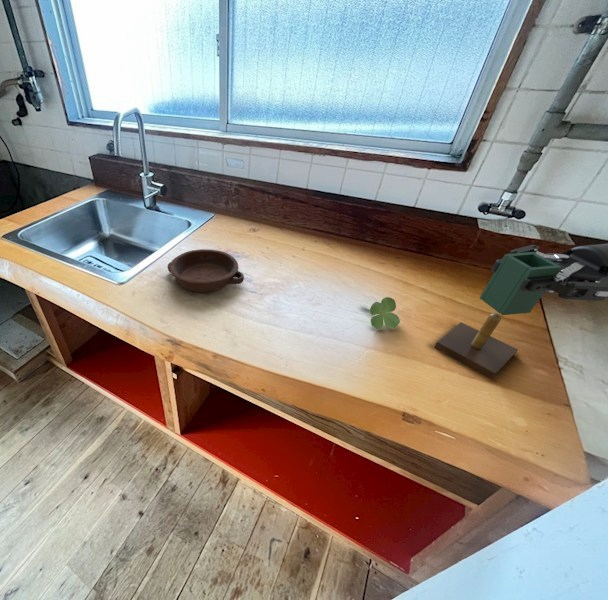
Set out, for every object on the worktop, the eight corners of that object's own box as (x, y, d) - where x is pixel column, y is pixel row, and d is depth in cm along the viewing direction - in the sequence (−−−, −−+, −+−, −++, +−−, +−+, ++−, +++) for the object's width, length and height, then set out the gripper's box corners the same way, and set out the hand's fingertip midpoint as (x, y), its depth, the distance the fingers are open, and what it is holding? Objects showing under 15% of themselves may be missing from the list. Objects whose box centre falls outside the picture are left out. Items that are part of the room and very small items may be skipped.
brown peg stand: (514, 354, 62) (542, 317, 57) (491, 378, 58) (519, 341, 52) (457, 327, 69) (478, 291, 63) (433, 347, 65) (453, 310, 59)
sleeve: (505, 295, 58) (533, 251, 53) (530, 312, 54) (563, 267, 49) (479, 298, 58) (504, 254, 53) (502, 315, 54) (532, 270, 49)
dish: (233, 305, 78) (234, 289, 75) (153, 290, 84) (150, 274, 81) (251, 269, 91) (252, 254, 88) (180, 258, 97) (179, 243, 94)
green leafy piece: (369, 333, 75) (389, 338, 69) (345, 313, 74) (363, 317, 68) (387, 308, 76) (408, 311, 69) (363, 288, 74) (382, 289, 68)
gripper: (576, 227, 56) (485, 235, 56) (680, 269, 45) (566, 280, 44) (551, 264, 61) (466, 271, 60) (639, 311, 50) (535, 321, 49)
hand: (509, 275), depth 52 cm, fingers closed on sleeve, 5 cm apart
